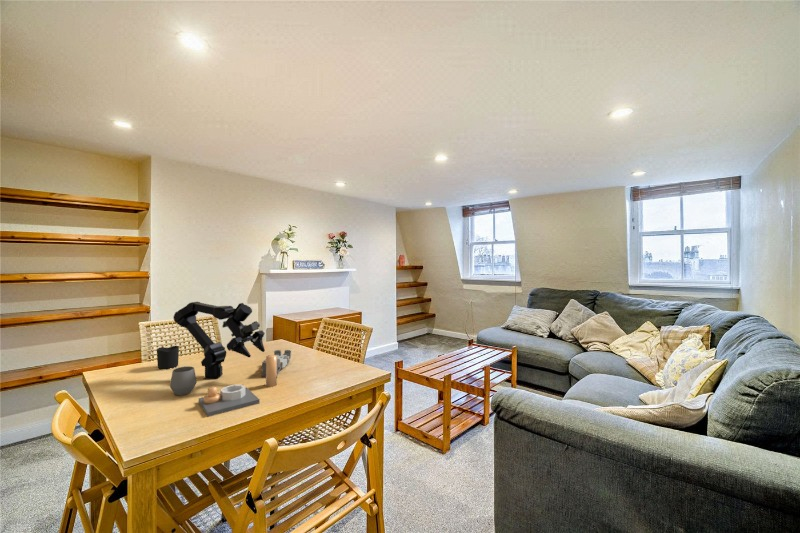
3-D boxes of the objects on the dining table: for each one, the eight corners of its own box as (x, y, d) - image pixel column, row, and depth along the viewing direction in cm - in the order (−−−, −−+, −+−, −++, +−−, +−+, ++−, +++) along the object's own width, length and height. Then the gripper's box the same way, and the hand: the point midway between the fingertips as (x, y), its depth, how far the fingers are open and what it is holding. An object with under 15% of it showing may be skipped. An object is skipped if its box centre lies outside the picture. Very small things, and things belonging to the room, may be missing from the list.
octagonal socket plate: (198, 402, 134) (198, 385, 134) (246, 390, 146) (246, 375, 146) (207, 416, 122) (207, 398, 122) (259, 403, 134) (259, 386, 134)
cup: (172, 390, 146) (172, 367, 146) (198, 387, 149) (198, 364, 149) (167, 398, 137) (167, 374, 137) (194, 395, 141) (194, 371, 140)
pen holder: (167, 363, 181) (167, 345, 181) (183, 364, 180) (183, 346, 180) (152, 369, 172) (152, 349, 172) (168, 370, 171) (168, 350, 171)
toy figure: (293, 348, 195) (281, 362, 165) (293, 359, 195) (281, 376, 165) (272, 348, 193) (257, 362, 164) (272, 360, 193) (256, 376, 164)
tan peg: (264, 387, 151) (264, 357, 150) (267, 383, 155) (267, 355, 155) (275, 386, 151) (275, 357, 151) (277, 383, 155) (277, 354, 155)
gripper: (231, 320, 147) (253, 347, 144) (261, 313, 165) (280, 338, 162) (217, 336, 150) (238, 364, 147) (247, 328, 168) (266, 353, 165)
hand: (257, 354), depth 155 cm, fingers open, 9 cm apart
